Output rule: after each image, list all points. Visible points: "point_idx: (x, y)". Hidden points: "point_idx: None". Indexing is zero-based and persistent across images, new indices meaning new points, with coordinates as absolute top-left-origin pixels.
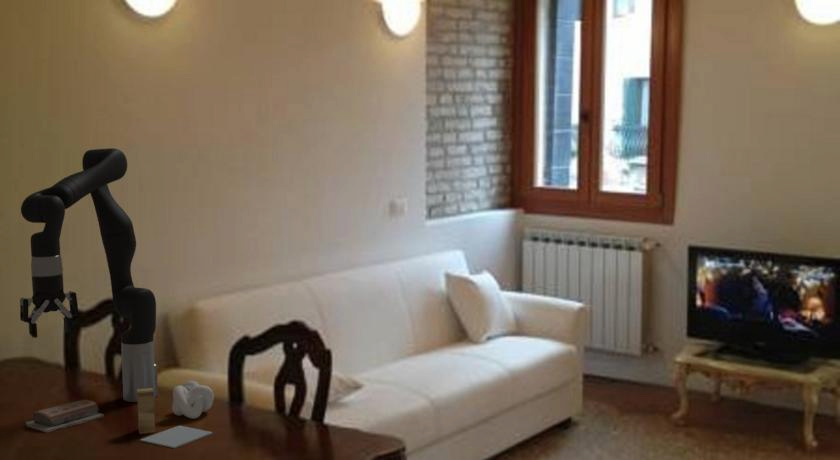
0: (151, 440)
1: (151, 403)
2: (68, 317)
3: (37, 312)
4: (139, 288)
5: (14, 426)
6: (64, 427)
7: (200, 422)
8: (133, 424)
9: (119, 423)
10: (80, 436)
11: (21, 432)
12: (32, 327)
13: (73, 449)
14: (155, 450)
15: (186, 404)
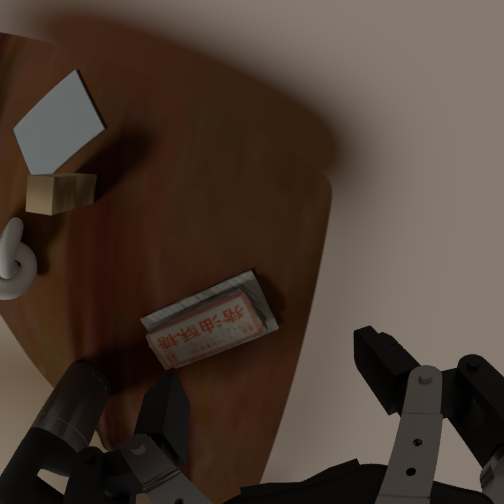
0: (90, 115)
1: (47, 174)
2: (148, 437)
3: (440, 422)
4: None
5: (294, 331)
6: (215, 285)
7: (13, 200)
8: (97, 242)
9: (118, 261)
10: (196, 211)
11: (292, 292)
12: (403, 360)
13: (224, 132)
14: (101, 69)
15: (9, 223)
